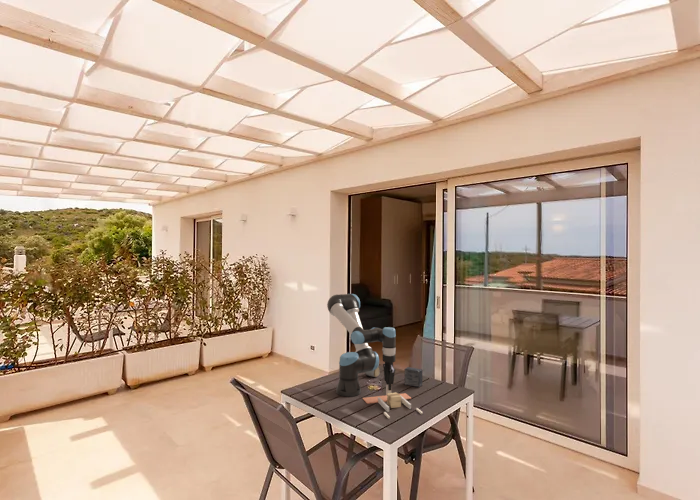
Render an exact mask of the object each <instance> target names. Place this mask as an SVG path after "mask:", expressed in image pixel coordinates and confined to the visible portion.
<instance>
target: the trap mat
mask: <svg viewBox="0 0 700 500" xmlns="http://www.w3.org/2000/svg"><path fill="white" fill-rule="evenodd" d="M398 394H399V395H401V396H402V397H403V398H404V399H406V400H412V397H411V396H409V394H407V393H405V392H404V393H398ZM378 397H380V398H381V399H382V400H383V401H384V402H385V403H387V395H386V394H385V395H377V396H367V397H362V400H363V401H364V402H365V403H366V404H367V405H369V404H370V405H371V404H377V403H378ZM378 404H379V403H378Z"/></svg>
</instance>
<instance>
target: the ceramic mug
mask: <svg viewBox="0 0 700 500" xmlns="http://www.w3.org/2000/svg"><path fill="white" fill-rule="evenodd" d="M380 373H381V372H380V367H378V368H377V369H376V370H373V371H371V372H364V374H365V375H366V376H367V377H372V378H377V377H378V376H379V375H380Z"/></svg>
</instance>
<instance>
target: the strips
mask: <svg viewBox="0 0 700 500" xmlns="http://www.w3.org/2000/svg"><path fill="white" fill-rule="evenodd" d="M415 411H416V412H418V413H419V414H420V415H423V414H424V413H423V411H422V410H421V409H420V408H418V407H415ZM383 415H384V416H385V417H386V418H387V419H391V416H390V415H389V414H388V412H387V411H383Z"/></svg>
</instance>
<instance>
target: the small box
mask: <svg viewBox="0 0 700 500" xmlns="http://www.w3.org/2000/svg"><path fill="white" fill-rule="evenodd" d="M408 385H409V387H413V386H414V387H413V388H418V387H419V388H420V386H421V387H422V386H423V369H422V368H416V367H410V366H407V367H405V368H404V386H408Z"/></svg>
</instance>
